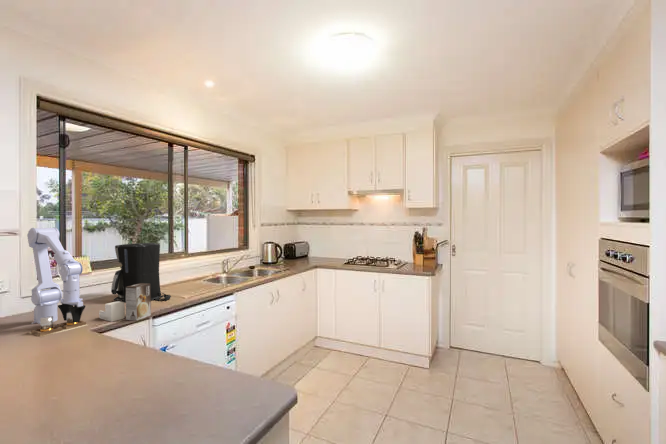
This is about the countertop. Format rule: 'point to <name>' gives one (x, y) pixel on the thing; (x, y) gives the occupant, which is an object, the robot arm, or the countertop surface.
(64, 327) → the seat board
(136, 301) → the coffee box
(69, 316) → the sleeve
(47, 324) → the sleeve
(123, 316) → the feeder
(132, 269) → the coffee maker
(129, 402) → the countertop surface
